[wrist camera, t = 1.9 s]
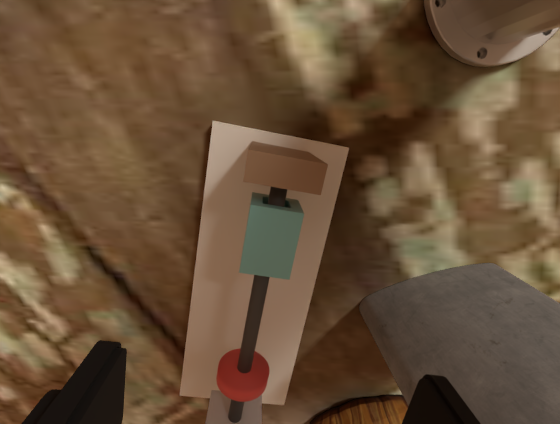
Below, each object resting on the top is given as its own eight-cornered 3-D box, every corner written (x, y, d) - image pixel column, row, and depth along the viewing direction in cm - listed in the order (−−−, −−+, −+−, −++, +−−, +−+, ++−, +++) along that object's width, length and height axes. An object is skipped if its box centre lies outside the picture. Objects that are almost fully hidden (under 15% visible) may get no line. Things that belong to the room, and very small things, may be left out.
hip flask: (362, 321, 33) (499, 596, 14) (355, 291, 32) (495, 546, 13) (500, 284, 33) (838, 513, 14) (499, 252, 31) (866, 454, 12)
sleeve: (252, 191, 23) (250, 204, 19) (297, 199, 23) (304, 213, 19) (242, 251, 24) (239, 272, 20) (285, 257, 24) (289, 279, 21)
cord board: (215, 120, 26) (189, 120, 17) (345, 146, 27) (387, 159, 18) (182, 386, 34) (153, 482, 25) (283, 396, 35) (290, 490, 26)
